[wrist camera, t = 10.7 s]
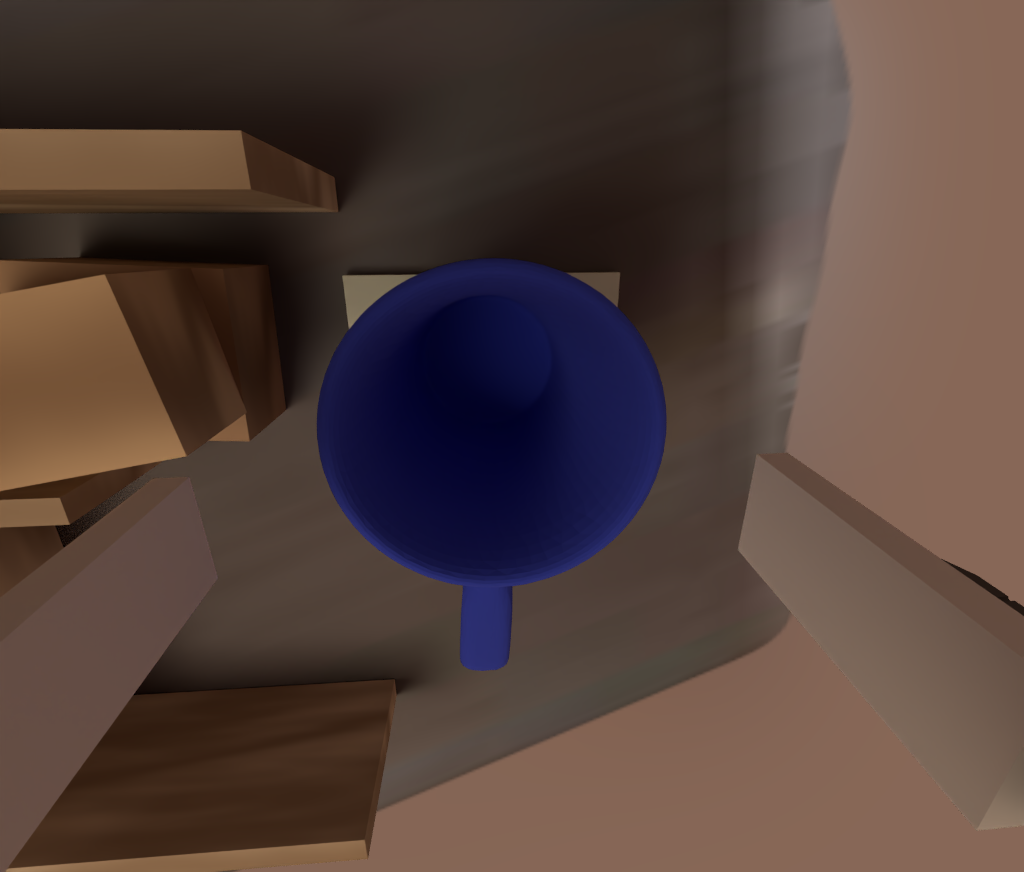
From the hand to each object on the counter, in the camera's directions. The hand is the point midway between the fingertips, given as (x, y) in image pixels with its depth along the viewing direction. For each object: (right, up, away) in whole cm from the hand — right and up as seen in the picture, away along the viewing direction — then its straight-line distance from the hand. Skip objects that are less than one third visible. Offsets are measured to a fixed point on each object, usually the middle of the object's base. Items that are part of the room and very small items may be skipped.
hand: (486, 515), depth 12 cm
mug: (-1, +3, +10) cm, 11 cm away
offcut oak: (-12, +4, +5) cm, 14 cm away
